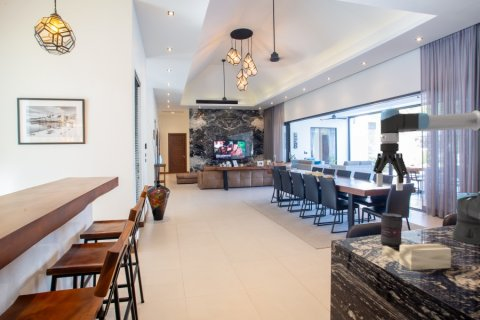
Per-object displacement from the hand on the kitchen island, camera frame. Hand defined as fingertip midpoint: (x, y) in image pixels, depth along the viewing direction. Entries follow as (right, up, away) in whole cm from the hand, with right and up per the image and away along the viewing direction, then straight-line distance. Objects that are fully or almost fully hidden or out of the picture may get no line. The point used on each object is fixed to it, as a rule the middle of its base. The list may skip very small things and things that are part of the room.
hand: (388, 188), depth 131 cm
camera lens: (-4, -26, -8) cm, 27 cm away
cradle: (-2, -26, -21) cm, 33 cm away
